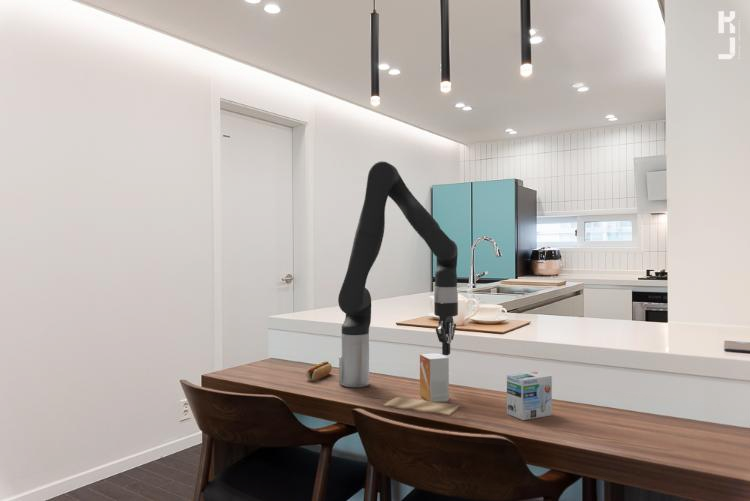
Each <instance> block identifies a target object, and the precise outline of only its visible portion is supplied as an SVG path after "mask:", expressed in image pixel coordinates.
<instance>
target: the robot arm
mask: <svg viewBox="0 0 750 501" xmlns="http://www.w3.org/2000/svg"><path fill="white" fill-rule="evenodd" d="M366 179H367V180H366V186H365V187H366V188H365V194H364V200H363V204H362V208H361V212H360V215H359V219H358V224H357V226H356V229H355V234H354V239H353V242H352V247H351V253H350V257H349V261H348V265H347V270H346V272H345V276H344V279H343V281H342V284H341V288H340V290H339V294H338V297H337V298H338V299H337V301H338V307H339V309H340V310H341V311H342V312H343V313H344V314H345V317H344V318H345V319H344V321H343V323H342V325H341V355H340V356H338V361H339V362H338V365H339V368H338V369H339V370H338V372H339V375H338V376H339V380H338V381H339V382H338V384H339V385H340V386H343V387H346V388H364V387H368V386H369V385H370V326H371V322H372V320H371V319H372V297H371V293H370V291H369V290H368V289H367V287H366V284H367V281H368V280H367V279H368V275H369V273H370V271H371V269H372V268H373V265H374V264H375V262H376V260H377V258H378V256H379V253H380V251H381V247H382V244H383V238H384V234H385V225H386V221H385V220H386V212H385V211H386V207H387V206H386V205H387V201H388V197H389V198H390V199H391V201H393V203H395V204H396V206H397V207H398V208H399V210H400V211H401V212H402V213H403V215H404V217H405V219H406V221H407V222H408V223H409V224H410V225H411V227H412V229H414V231H415V232H416V233H417V234H418V236H419V237H421V238H422V240H423V241H424V242H425V243H426V245H427V247H428V248H429V249H430V251H431V252H432V253H433V255H434V256H435V257H436V269H435V273H434V294H433V297H434V298H433V302H434V303H433V304H434V306H433V308H434V312H433V313H434V316H436V317H439V319H438V323H437V324H438V325H437V326H438V327H436V328H435V332H436V333H435V334H436V336H437V339H438V341H439V343H441V351H442V352H441V353H442V354H441V355H443V356H450V355H451V343H452V341H453V340H454V336H455V332H456V328H457V323H455V321H454V317H456V316H457V317H458V315H459V306H458V305H459V300H458V299H459V293H458V275H457V269H458V268H457V266H458V255H459V254H458V250H459V249H458V246H457V243H455V241H454V240H452V239H451V238H450V237H449V236H448V235H447V234H446V233H445V231H443V230H442V228H441V227H440V224H439V223H438V222H437V220H436V219H435V218H434V217H433V216H432V215H431V213H429V211H428V210H427V209H426V208H425V207H424V206H423V205H422V204H421V203H420V201H419V200H418V199H417V198H416V197H415V196H414V195H413V193H412V191H410V189H409V187H408V186H407V185H406V183H405V182H404V180H403V178H402V177H401V175H400V173H399V171H398V169H397V167H396V166H394V165H393V164H391V163H389V162H387V161H383V160H382V161H377V162H374V164H373V165H372V166H371V167H370V169H369V170H368V174H367V178H366Z"/></svg>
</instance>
